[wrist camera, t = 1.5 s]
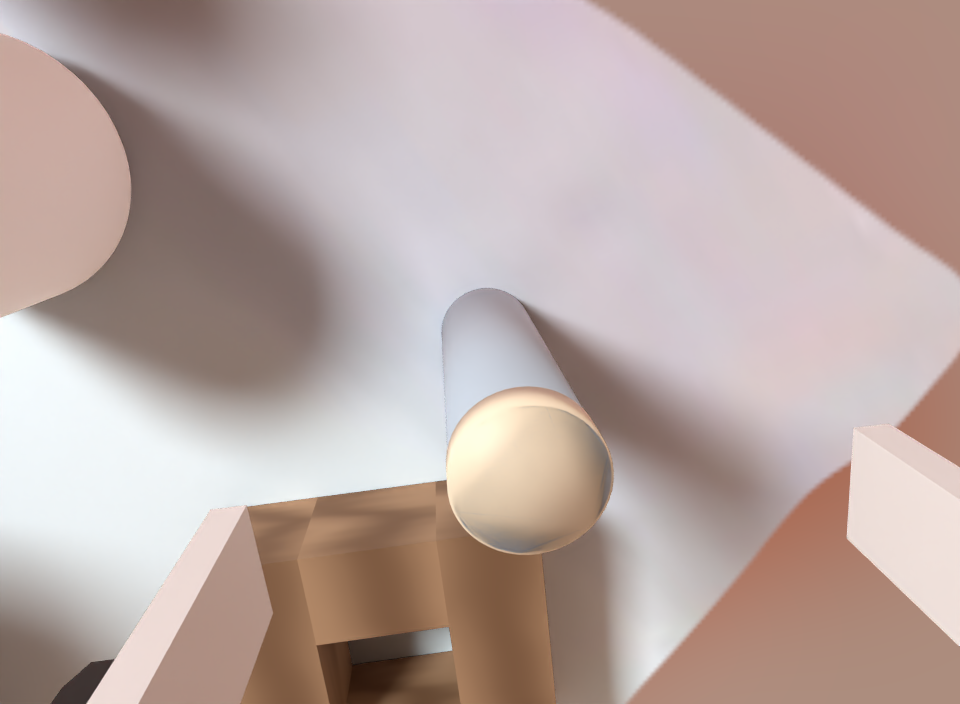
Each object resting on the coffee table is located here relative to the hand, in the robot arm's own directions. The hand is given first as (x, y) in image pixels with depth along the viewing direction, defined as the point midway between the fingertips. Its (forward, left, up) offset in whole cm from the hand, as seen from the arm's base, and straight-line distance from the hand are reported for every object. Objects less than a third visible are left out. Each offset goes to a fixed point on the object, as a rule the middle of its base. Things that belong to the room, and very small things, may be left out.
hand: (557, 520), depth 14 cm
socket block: (-6, -14, -16) cm, 22 cm away
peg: (0, 0, -16) cm, 16 cm away
